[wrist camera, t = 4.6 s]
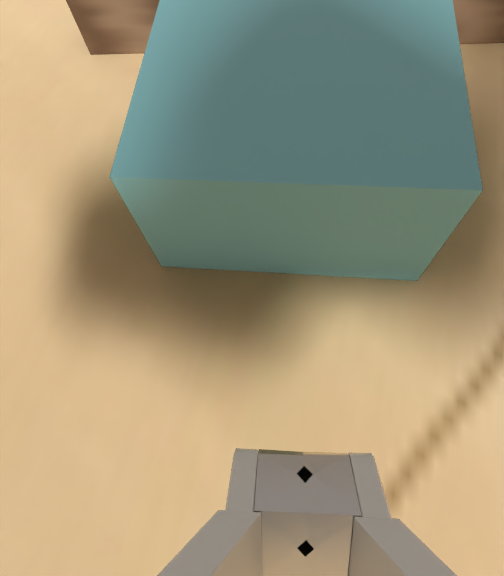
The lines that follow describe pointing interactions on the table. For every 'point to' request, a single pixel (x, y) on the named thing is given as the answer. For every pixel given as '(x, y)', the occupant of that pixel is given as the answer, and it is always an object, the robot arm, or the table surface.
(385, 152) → the teal block
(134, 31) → the walnut board
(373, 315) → the table surface
